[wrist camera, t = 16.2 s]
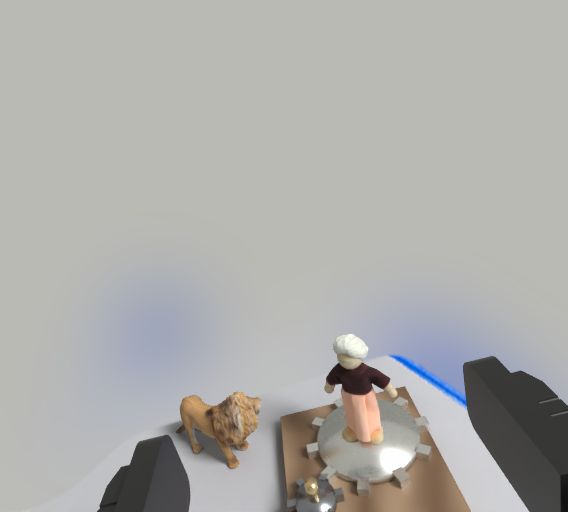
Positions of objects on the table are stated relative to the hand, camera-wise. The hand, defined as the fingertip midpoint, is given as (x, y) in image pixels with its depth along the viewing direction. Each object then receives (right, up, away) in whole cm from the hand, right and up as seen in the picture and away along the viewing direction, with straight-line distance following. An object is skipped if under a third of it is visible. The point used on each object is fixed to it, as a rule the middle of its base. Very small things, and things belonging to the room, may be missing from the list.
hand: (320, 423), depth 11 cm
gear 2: (+8, -16, +35) cm, 39 cm away
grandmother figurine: (+8, -15, +35) cm, 39 cm away
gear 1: (+2, -20, +29) cm, 35 cm away
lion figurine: (-8, -19, +42) cm, 47 cm away
